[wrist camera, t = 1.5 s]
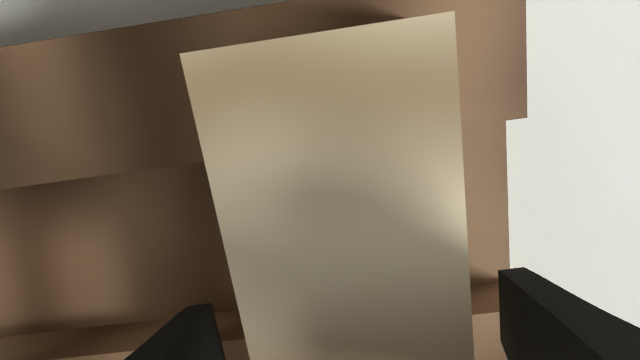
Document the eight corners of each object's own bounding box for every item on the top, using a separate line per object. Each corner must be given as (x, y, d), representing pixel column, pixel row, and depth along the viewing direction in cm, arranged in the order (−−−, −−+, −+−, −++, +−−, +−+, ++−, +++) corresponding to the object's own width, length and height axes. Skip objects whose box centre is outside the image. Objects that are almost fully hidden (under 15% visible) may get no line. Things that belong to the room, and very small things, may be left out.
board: (491, -26, 16) (525, -38, 13) (504, 356, 21) (530, 408, 18) (-94, 68, 18) (-175, 75, 15) (42, 402, 23) (0, 456, 20)
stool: (241, 44, 14) (179, 53, 9) (405, 18, 14) (454, 10, 8) (311, 408, 18) (300, 577, 13) (438, 396, 18) (486, 564, 12)
